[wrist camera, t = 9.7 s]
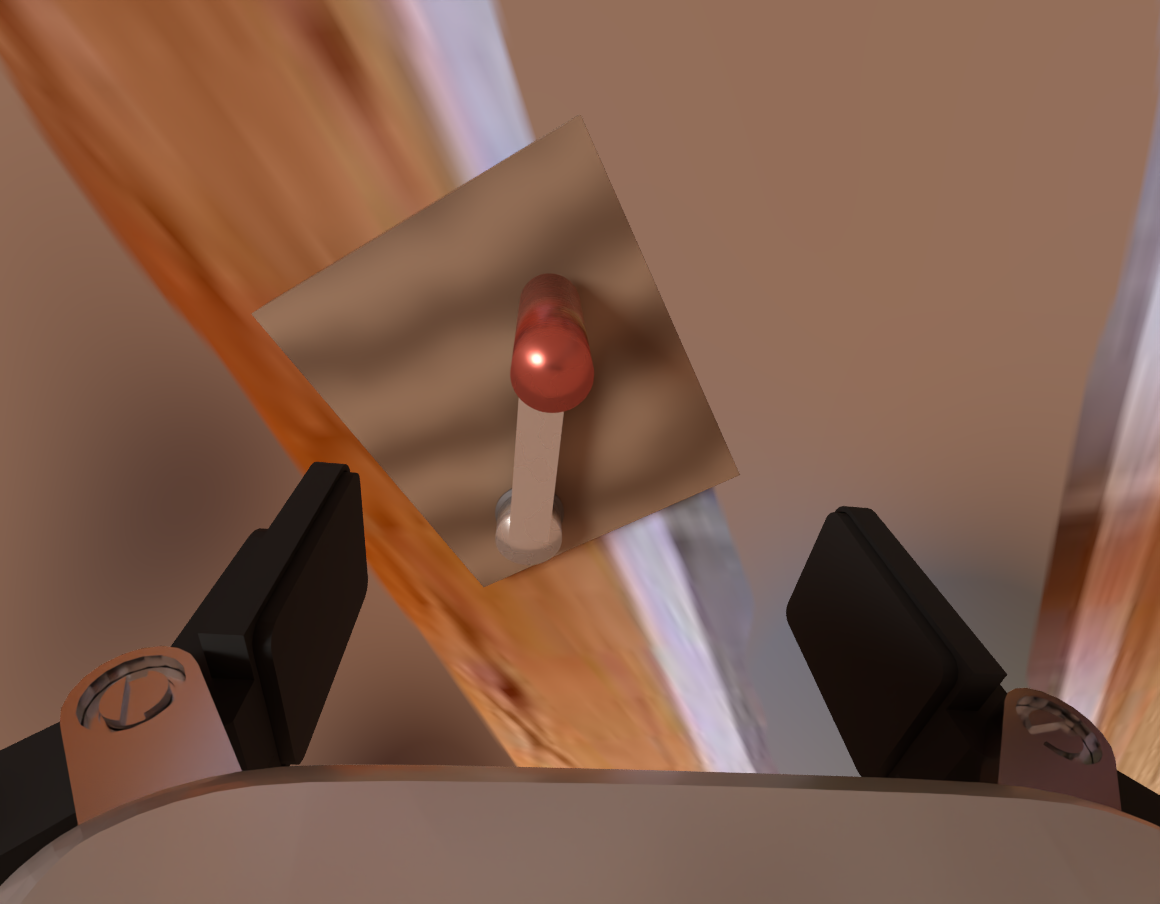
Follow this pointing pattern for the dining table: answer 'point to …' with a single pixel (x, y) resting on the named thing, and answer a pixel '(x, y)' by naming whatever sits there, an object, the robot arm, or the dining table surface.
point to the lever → (542, 413)
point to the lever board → (506, 354)
